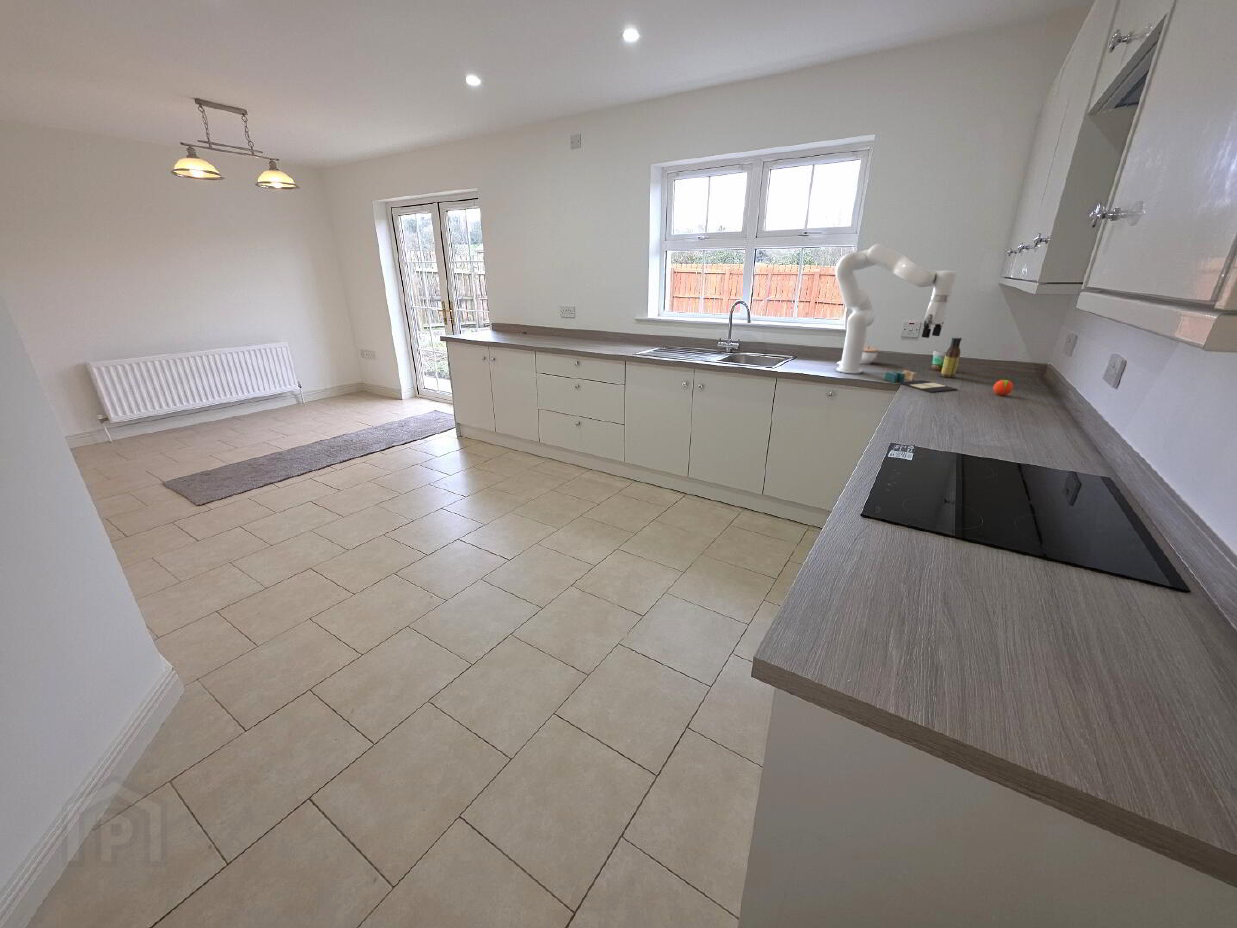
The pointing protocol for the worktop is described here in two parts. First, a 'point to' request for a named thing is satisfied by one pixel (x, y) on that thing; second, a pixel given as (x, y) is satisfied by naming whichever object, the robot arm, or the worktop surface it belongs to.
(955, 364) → the sauce bottle
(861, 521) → the worktop surface
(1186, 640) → the worktop surface
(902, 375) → the letter H
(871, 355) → the trinket box
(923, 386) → the word mat
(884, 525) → the worktop surface
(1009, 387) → the tomato
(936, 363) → the food container
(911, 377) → the letter I
